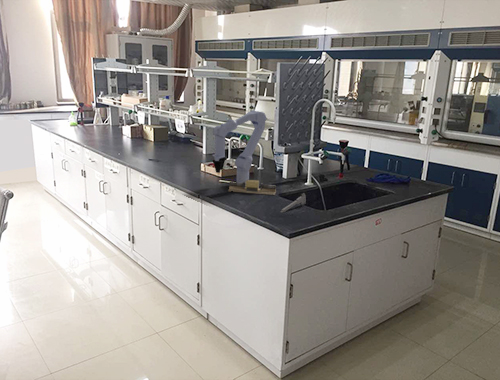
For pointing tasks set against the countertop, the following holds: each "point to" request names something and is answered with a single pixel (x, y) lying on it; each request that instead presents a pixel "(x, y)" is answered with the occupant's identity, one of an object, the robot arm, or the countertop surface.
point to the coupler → (252, 184)
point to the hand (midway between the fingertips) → (219, 171)
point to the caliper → (296, 202)
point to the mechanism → (241, 188)
